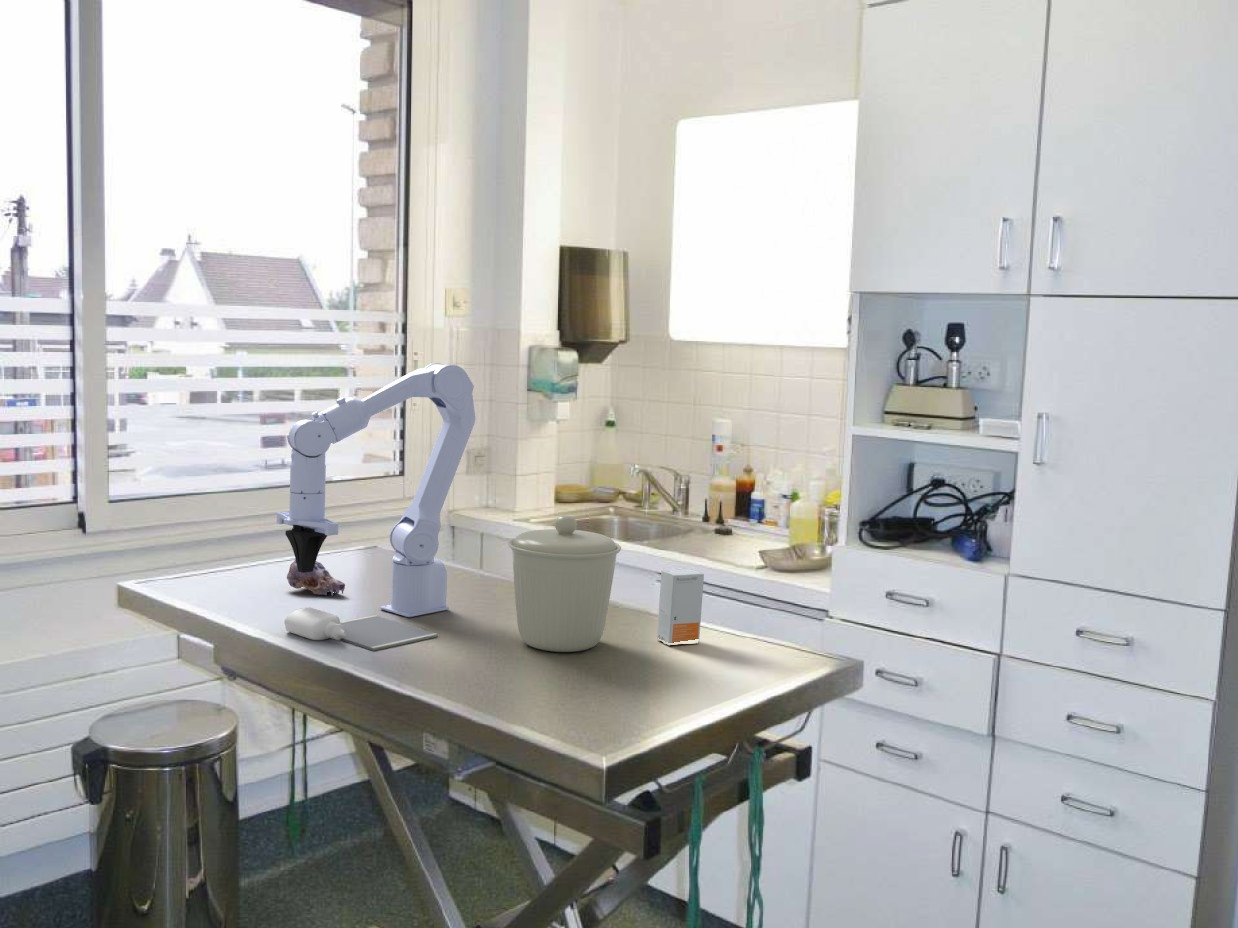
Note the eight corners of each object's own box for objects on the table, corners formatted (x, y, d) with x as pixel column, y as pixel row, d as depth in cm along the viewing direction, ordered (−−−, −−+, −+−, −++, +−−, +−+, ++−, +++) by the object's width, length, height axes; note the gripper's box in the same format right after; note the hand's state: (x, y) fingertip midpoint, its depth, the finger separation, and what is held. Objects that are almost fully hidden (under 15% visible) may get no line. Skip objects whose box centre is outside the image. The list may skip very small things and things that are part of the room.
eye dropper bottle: (308, 634, 182) (354, 649, 174) (280, 630, 177) (326, 645, 170) (315, 608, 182) (362, 622, 175) (287, 603, 178) (334, 617, 171)
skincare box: (669, 647, 181) (673, 575, 180) (656, 640, 185) (660, 570, 184) (700, 644, 184) (704, 573, 183) (687, 637, 188) (691, 568, 186)
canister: (639, 648, 180) (645, 519, 177) (556, 666, 167) (562, 528, 165) (563, 624, 192) (569, 504, 190) (481, 640, 179) (486, 511, 177)
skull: (353, 595, 206) (354, 563, 206) (320, 602, 200) (321, 568, 199) (311, 585, 213) (312, 553, 212) (278, 591, 207) (279, 558, 206)
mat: (375, 617, 190) (375, 615, 190) (437, 636, 180) (437, 633, 180) (311, 630, 180) (311, 627, 180) (373, 650, 170) (373, 647, 170)
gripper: (261, 488, 187) (260, 567, 189) (313, 498, 178) (311, 581, 180) (297, 485, 193) (295, 562, 194) (349, 495, 184) (347, 576, 185)
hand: (305, 571), depth 187 cm, fingers closed
